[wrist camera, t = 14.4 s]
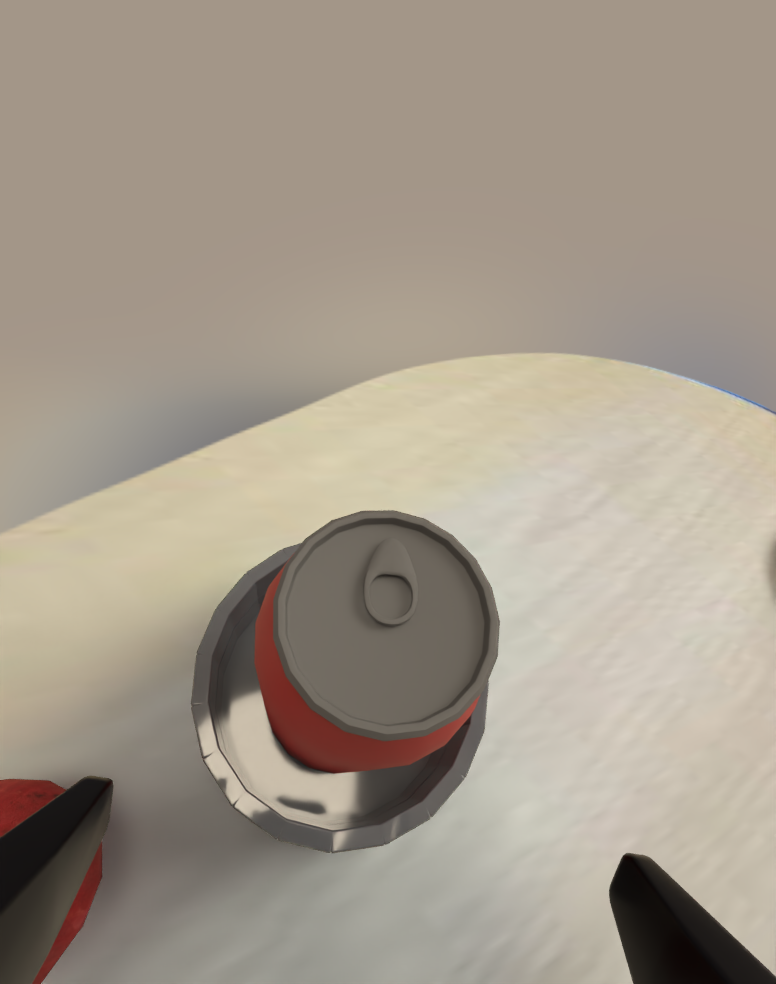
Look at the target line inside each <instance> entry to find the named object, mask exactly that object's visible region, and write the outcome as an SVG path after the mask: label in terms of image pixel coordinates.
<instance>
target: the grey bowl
mask: <svg viewBox="0 0 776 984" xmlns="http://www.w3.org/2000/svg"><path fill="white" fill-rule="evenodd" d="M301 544H302V543H300V544H297V545H294V546H290V547H287V548H284V549H283V550H280V551H278V552H277V553H275V554H274V555H272V556H271V557H269V558H268V559H266V560H265V561H263V562H261V563H260V564H258V565H257V566H255V567H254V568H252V569H251V570H249V571H248V572H247V573H246V574H244V575H243V577H242V578H241V579H240V580H239V581H238V583H237V584H236V585H235V586H234V587H233V589H232V590H231V591H230V592H229V593H228V594H227V596H226V597H225V598H224V599H223V600H222V602H221V603H220V604H219V605H218V606H217V609H215V611H214V613H213V616H212V618H211V620H210V623H209V625H208V627H207V630H206V632H205V634H204V637H203V639H202V641H201V644H200V646H199V648H198V651H197V655H196V660H195V670H194V680H193V689H192V699H191V706H192V707H191V710H192V714H193V719H194V723H195V728H196V732H197V737H198V741H199V746H200V750H201V755H202V758H203V761H204V763H205V765H206V766H207V768H208V769H209V771H210V773H211V774H212V776H213V777H214V779H215V780H216V782H217V784H218V785H219V787H220V788H221V790H222V792H223V793H224V795H225V796H226V798H227V800H228V801H229V803H230V804H231V806H233V808H234V809H236V810H237V811H238V812H240V813H241V814H242V815H244V816H245V817H246V818H248V819H249V820H250V821H252V822H253V823H255V824H256V825H257V826H259V827H260V828H261V829H263V830H264V831H265V832H267V833H268V834H269V835H271V836H272V837H273V838H275V839H278V840H279V841H283V842H287V843H291V844H295V845H299V846H303V847H307V848H311V849H315V850H319V851H323V852H327V853H330V852H331V853H338V852H344V851H351V850H357V849H364V848H371V847H377V846H383V845H384V844H388V843H390V842H392V841H393V840H395V839H397V838H398V837H400V836H402V835H404V834H405V833H407V832H409V831H411V830H412V829H414V828H416V827H417V826H419V825H421V824H423V823H424V822H426V821H428V820H430V818H431V817H433V816H434V815H435V813H436V812H437V811H438V810H439V809H440V807H441V806H442V805H443V804H444V803H445V802H446V800H447V799H448V798H449V797H450V796H451V794H452V793H453V792H454V791H455V790H456V788H457V787H458V786H459V785H460V784H461V783H462V781H463V780H464V777H466V776H467V773H468V771H469V768H470V766H471V763H472V761H473V758H474V756H475V753H476V751H477V748H478V746H479V743H480V741H481V738H482V736H483V733H484V730H485V719H486V708H487V697H488V686H489V683H488V682H489V681H488V682H487V684H486V687H485V689H484V691H483V692H482V693H481V695H480V697H479V700H478V702H477V705H476V707H475V709H474V711H473V712H472V714H471V716H470V717H469V718H468V719H467V720H466V722H465V723H464V724H463V725H462V726H461V727H460V728H459V730H458V731H457V732H456V733H455V734H454V735H453V736H452V738H451V739H450V740H449V741H448V742H447V743H446V745H445V746H443V747H441V748H439V749H437V750H436V751H434V752H432V753H430V754H428V755H427V756H425V757H423V758H421V759H419V760H417V761H416V762H414V763H412V764H410V765H405V766H398V767H391V768H383V769H376V770H369V771H358V772H347V773H335V774H333V773H329V772H325V771H321V770H316V769H312V768H309V767H307V766H306V765H304V764H303V763H301V762H300V761H298V760H297V759H295V758H294V757H292V756H291V755H289V754H288V753H287V751H286V750H285V749H284V747H283V746H282V745H281V743H280V742H279V740H278V739H277V738H276V736H275V735H274V733H273V732H272V729H271V725H270V722H269V719H268V715H267V712H266V709H265V705H264V701H263V697H262V693H261V688H260V684H259V680H258V676H257V672H256V667H255V663H254V661H255V623H256V620H257V617H258V614H259V612H260V609H261V606H262V603H263V600H264V597H265V595H266V592H267V589H268V587H269V585H270V584H271V582H272V581H273V580H274V578H275V577H276V576H277V574H278V573H279V572H280V571H281V569H282V568H283V567H284V565H285V564H286V563H287V561H288V560H289V559H290V557H291V556H292V555H293V553H295V552H296V550H297V549H298V548H299V546H300V545H301Z"/></svg>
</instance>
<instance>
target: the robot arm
mask: <svg viewBox="0 0 776 984" xmlns="http://www.w3.org/2000/svg"><path fill="white" fill-rule="evenodd" d="M112 794H113V781H112V780H111V779H109V778H103V777H96V776H87V777H85V778H83V779H81V780H80V781H78V782H77V783H76V784H74V785H73V786H71V787H70V788H69V789H67V790H66V791H64V792H63V793H62V794H60V795H59V796H57V797H56V798H55V799H53V800H52V801H50V802H49V803H48V804H46V805H45V806H43V807H42V808H41V809H39V810H38V811H36V812H35V813H34V814H32V815H31V816H29V817H28V818H27V819H25V820H24V821H22V822H21V823H20V824H18V825H17V826H15V827H14V828H13V829H11V830H10V831H8V832H7V833H6V834H4V835H3V836H1V837H0V984H32V983H33V981H34V979H35V977H36V976H37V974H38V972H39V970H40V968H41V967H42V965H43V963H44V961H45V959H46V957H47V956H48V954H49V952H50V950H51V948H52V945H53V943H54V941H55V939H56V937H57V935H58V933H59V931H60V929H61V927H62V925H63V922H64V920H65V918H66V916H67V914H68V912H69V910H70V908H71V905H72V903H73V901H74V899H75V897H76V895H77V893H78V890H79V888H80V886H81V884H82V882H83V880H84V878H85V876H86V873H87V871H88V869H89V867H90V865H91V863H92V861H93V858H94V856H95V854H96V852H97V850H98V848H99V846H100V844H101V841H102V839H103V837H104V835H105V832H106V830H107V827H108V823H109V819H110V811H111V803H112ZM609 897H610V903H611V907H612V911H613V914H614V918H615V921H616V925H617V928H618V932H619V935H620V939H621V942H622V946H623V949H624V953H625V956H626V960H627V963H628V967H629V970H630V974H631V977H632V981H633V984H776V977H775V976H774V975H773V974H772V973H771V972H770V971H769V970H768V969H767V968H766V967H765V966H764V965H763V964H762V963H761V962H760V961H759V960H758V959H757V958H755V957H754V956H753V955H752V954H751V953H750V952H749V951H748V950H747V949H746V948H745V947H744V946H743V945H742V944H741V943H740V942H739V941H738V940H737V939H735V938H734V937H733V936H732V935H731V934H730V933H729V932H728V931H727V930H726V929H725V928H724V927H723V926H722V925H721V924H720V923H719V922H718V921H717V920H715V919H714V918H713V917H712V916H711V915H710V914H709V913H708V912H707V911H706V910H705V909H704V908H703V907H702V906H701V905H700V904H699V903H698V902H697V901H695V900H694V899H693V898H692V897H691V896H690V895H689V894H688V893H687V892H686V891H685V890H684V889H683V888H682V887H681V886H680V885H679V884H678V883H677V882H675V881H674V880H673V879H672V878H671V877H670V876H669V875H668V874H667V873H666V872H665V871H664V870H663V869H662V868H661V867H660V866H659V865H658V864H656V863H655V862H654V861H653V860H652V859H651V858H649V857H648V856H645V855H639V854H632V853H626V854H625V855H623V857H622V858H621V861H620V863H619V865H618V868H617V870H616V872H615V875H614V877H613V880H612V882H611V885H610V889H609Z"/></svg>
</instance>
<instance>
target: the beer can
mask: <svg viewBox="0 0 776 984" xmlns="http://www.w3.org/2000/svg"><path fill="white" fill-rule="evenodd" d="M499 625H500V620H499V616H498V612H497V608H496V603H495V599H494V595H493V591H492V587H491V586H490V584H489V582H488V580H487V578H486V577H485V575H484V573H483V571H482V569H481V568H480V566H479V564H478V562H477V560H476V559H475V558H474V557H473V556H472V555H471V554H470V553H469V551H468V550H467V549H466V548H465V547H464V546H463V545H462V544H461V543H460V542H459V541H458V540H457V539H456V538H455V537H454V536H453V535H451V534H450V533H448V532H446V531H445V530H443V529H441V528H439V527H438V526H436V525H434V524H433V523H431V522H429V521H428V520H426V519H424V518H420V517H416V516H412V515H409V514H405V513H401V512H398V511H360V512H357V513H354V514H351V515H348V516H344V517H341V518H338V519H335V520H332V521H330V522H329V523H328V524H326V525H325V526H323V527H322V528H320V529H319V530H317V531H316V532H315V533H313V534H312V535H310V536H309V537H307V538H306V539H305V540H304V541H303V543H302V544H301V545H300V546H299V548H298V549H297V550H296V552H295V553H293V555H292V556H291V557H290V559H289V560H288V561H287V563H286V564H285V565H284V567H283V568H282V569H281V571H280V572H279V573H278V574H277V576H276V577H275V578H274V580H273V581H272V582H271V584H270V585H269V587H268V589H267V592H266V595H265V597H264V600H263V603H262V606H261V609H260V612H259V614H258V617H257V620H256V623H255V661H254V663H255V667H256V672H257V676H258V680H259V684H260V688H261V693H262V697H263V701H264V705H265V709H266V712H267V715H268V719H269V722H270V725H271V729H272V732H273V733H274V735H275V736H276V738H277V739H278V740H279V742H280V743H281V745H282V746H283V747H284V749H285V750H286V751H287V753H288V754H289V755H291V756H292V757H294V758H295V759H297V760H298V761H300V762H301V763H303V764H304V765H306V766H307V767H309V768H312V769H316V770H321V771H325V772H329V773H333V774H335V773H347V772H358V771H369V770H376V769H383V768H391V767H398V766H405V765H410V764H412V763H414V762H416V761H417V760H419V759H421V758H423V757H425V756H427V755H428V754H430V753H432V752H434V751H436V750H437V749H439V748H441V747H443V746H445V745H446V743H447V742H448V741H449V740H450V739H451V738H452V736H453V735H454V734H455V733H456V732H457V731H458V730H459V728H460V727H461V726H462V725H463V724H464V723H465V722H466V720H467V719H468V718H469V717H470V716H471V714H472V712H473V711H474V709H475V707H476V705H477V702H478V700H479V697H480V695H481V693H482V692H483V691H484V689H485V687H486V684H487V682H488V679H489V677H490V674H491V672H492V669H493V667H494V664H495V662H496V659H497V657H498V641H499Z"/></svg>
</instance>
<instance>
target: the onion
mask: <svg viewBox="0 0 776 984" xmlns="http://www.w3.org/2000/svg"><path fill="white" fill-rule="evenodd" d="M64 791H66V789H64V788H62V787H60V786H58V785H56V784H55V783H53V782H51V781H47V780H24V779H6V780H0V837H1V836H3V835H4V834H6V833H7V832H8V831H10V830H11V829H13V828H14V827H15V826H17V825H18V824H20V823H21V822H22V821H24V820H25V819H27V818H28V817H29V816H31V815H32V814H34V813H35V812H36V811H38V810H39V809H41V808H42V807H43V806H45V805H46V804H48V803H49V802H50V801H52V800H53V799H55V798H56V797H57V796H59V795H60V794H62V793H63V792H64ZM101 878H102V841H101V844H100V846H99V848H98V850H97V852H96V854H95V856H94V858H93V861H92V863H91V865H90V867H89V869H88V871H87V873H86V876H85V878H84V880H83V882H82V884H81V886H80V888H79V890H78V893H77V895H76V897H75V899H74V901H73V903H72V905H71V908H70V910H69V912H68V914H67V916H66V918H65V920H64V922H63V925H62V927H61V929H60V931H59V933H58V935H57V937H56V939H55V941H54V943H53V945H52V948H51V950H50V952H49V954H48V956H47V957H46V959H45V961H44V963H43V965H42V967H41V968H40V970H39V972H38V974H37V976H36V977H35V979H34V981H33V983H32V984H41V983H42V981H43V980H44V979H45V977H46V976H47V974H48V973H49V972H50V970H51V969H52V968H53V966H54V965H55V963H56V962H57V961H58V959H59V958H60V957H61V955H62V954H63V952H64V951H65V950H66V948H67V947H68V946H69V944H70V943H71V941H72V940H73V939H74V937H75V936H76V935H77V933H78V932H79V930H80V929H81V928H82V926H83V924H84V922H85V919H86V917H87V914H88V911H89V909H90V906H91V904H92V901H93V899H94V896H95V894H96V891H97V889H98V886H99V883H100V881H101Z"/></svg>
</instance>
